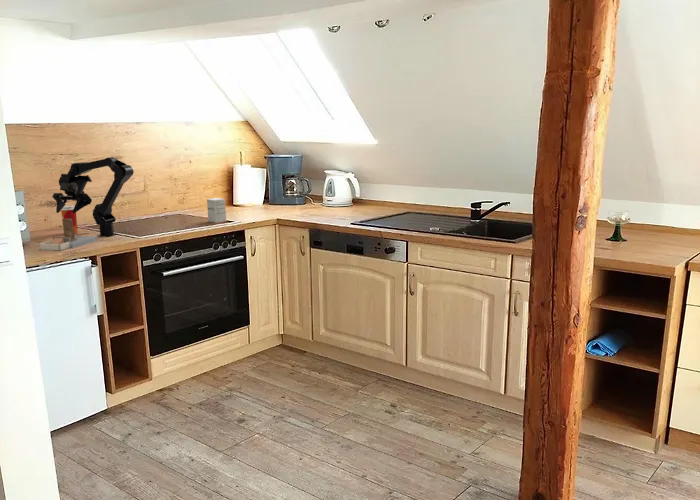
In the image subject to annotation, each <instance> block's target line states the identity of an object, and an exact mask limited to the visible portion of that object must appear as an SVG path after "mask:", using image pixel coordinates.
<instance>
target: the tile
mask: <svg viewBox="0 0 700 500" xmlns="http://www.w3.org/2000/svg"><path fill="white" fill-rule="evenodd" d="M52 241H53V242H52ZM52 241H51V242H52V243H51V244H62V243H64V242H65V241H64V240H63V238H55V239H54V240H53V239H52Z"/></svg>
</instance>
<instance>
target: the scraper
mask: <svg viewBox="0 0 700 500" xmlns="http://www.w3.org/2000/svg"><path fill="white" fill-rule="evenodd" d="M62 227H63V236H53V237H52V241H53V240H54V239H55V238H63V240H64V241H65V242H71V241H74V240H77V238H75V237H74V236H75V234H74V229H73V221H72V219H62ZM65 242H64V243H65Z"/></svg>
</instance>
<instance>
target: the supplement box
mask: <svg viewBox="0 0 700 500" xmlns="http://www.w3.org/2000/svg"><path fill="white" fill-rule="evenodd" d="M206 205H207V220H208V222H209V223H215V224H217V223H222V222H223V223H224V222H227V211H226V199H225V198H221V197H214V198H206Z"/></svg>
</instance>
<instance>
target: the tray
mask: <svg viewBox="0 0 700 500" xmlns="http://www.w3.org/2000/svg"><path fill="white" fill-rule="evenodd" d="M50 242H51V240H48V241H43V242H41V243H38V247H39V251H45V252H47V251H48V252H63V251H65V250H68V249H71V248H70V243H69V242H65V243H62V244H50Z"/></svg>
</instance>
